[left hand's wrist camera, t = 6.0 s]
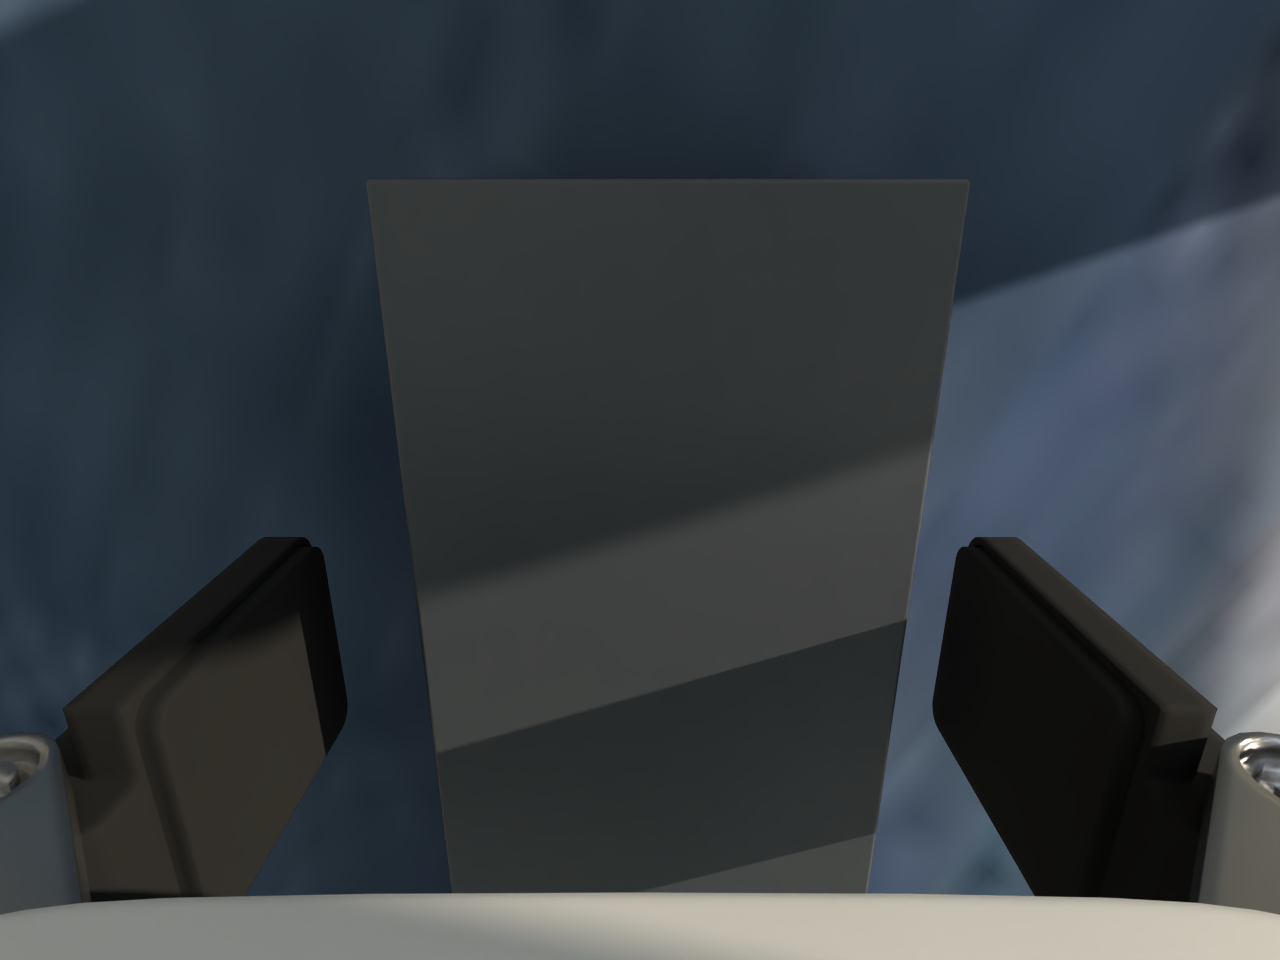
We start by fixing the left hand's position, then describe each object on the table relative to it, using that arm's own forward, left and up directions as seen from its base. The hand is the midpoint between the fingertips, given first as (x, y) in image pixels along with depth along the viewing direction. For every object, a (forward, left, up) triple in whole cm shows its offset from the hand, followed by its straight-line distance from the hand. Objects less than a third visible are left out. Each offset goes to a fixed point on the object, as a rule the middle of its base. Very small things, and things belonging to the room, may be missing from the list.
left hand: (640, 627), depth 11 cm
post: (-4, +31, -4) cm, 32 cm away
